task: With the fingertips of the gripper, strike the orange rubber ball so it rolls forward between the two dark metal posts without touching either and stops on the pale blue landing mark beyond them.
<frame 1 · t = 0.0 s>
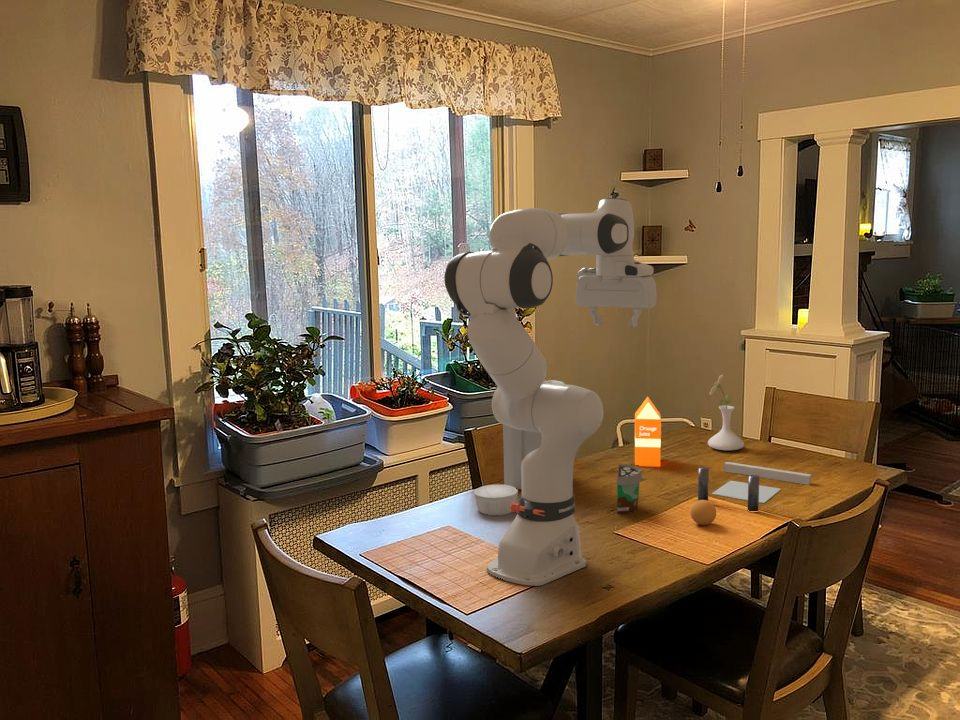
hand: (614, 325, 194), 48 cm above the table, tool pointing down, fingers open, 8 cm apart
ball: (703, 512, 195), on the table
left post: (703, 501, 212), on the table
ramekin: (496, 511, 209), on the table
flower in vase: (724, 449, 262), on the table
orange juice: (647, 462, 249), on the table
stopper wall: (766, 477, 231), on the table
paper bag: (545, 485, 230), on the table
right post: (752, 510, 204), on the table
landing mark: (746, 491, 219), on the table
food container: (630, 508, 208), on the table
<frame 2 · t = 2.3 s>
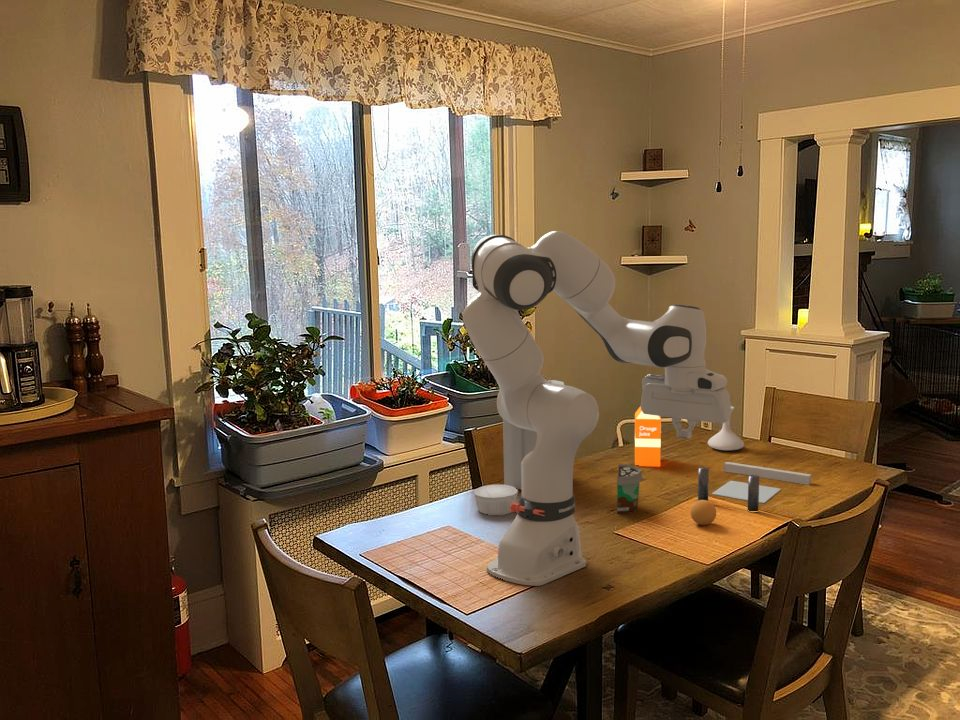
hand: (684, 437, 182), 24 cm above the table, tool pointing down, fingers closed
nothing on the table moved.
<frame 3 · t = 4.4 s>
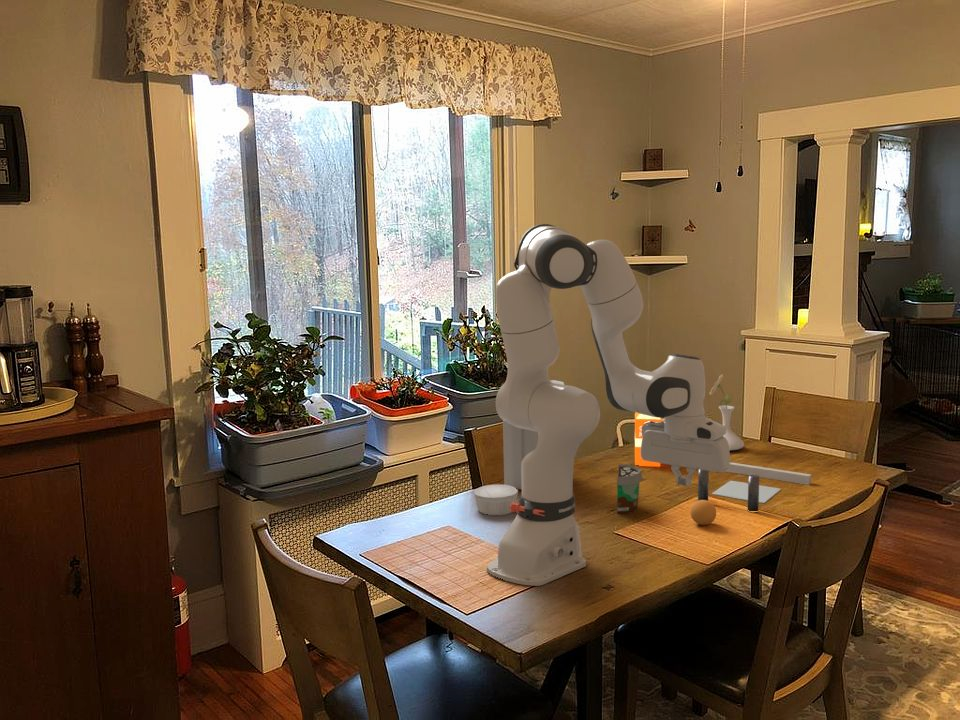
hand: (683, 484, 184), 13 cm above the table, tool pointing down, fingers closed
nothing on the table moved.
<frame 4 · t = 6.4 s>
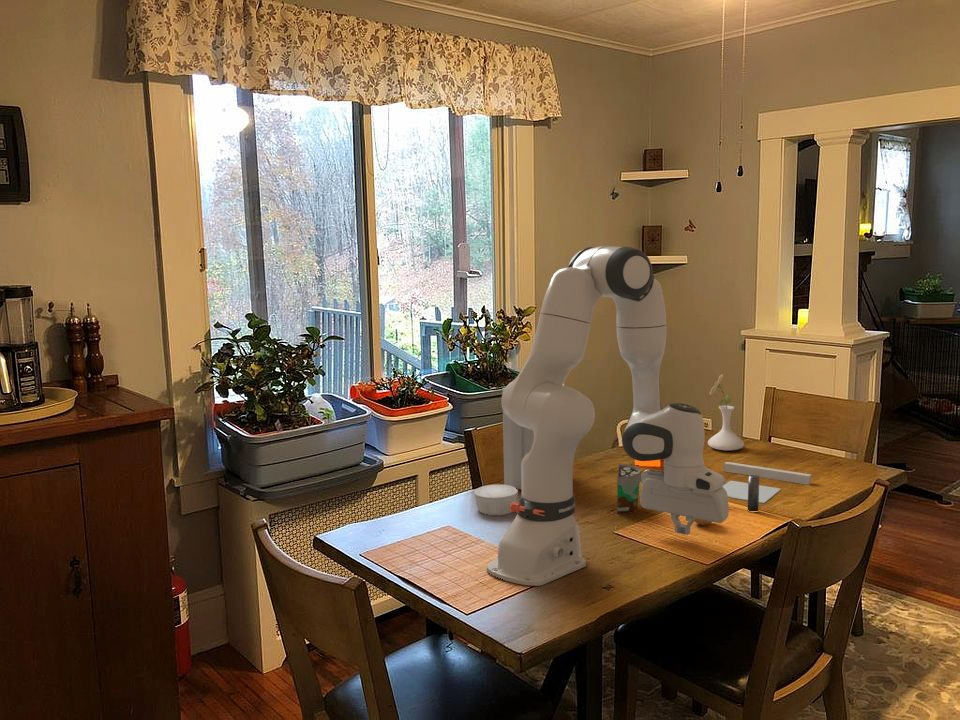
hand: (682, 533, 186), 2 cm above the table, tool pointing down, fingers closed
nothing on the table moved.
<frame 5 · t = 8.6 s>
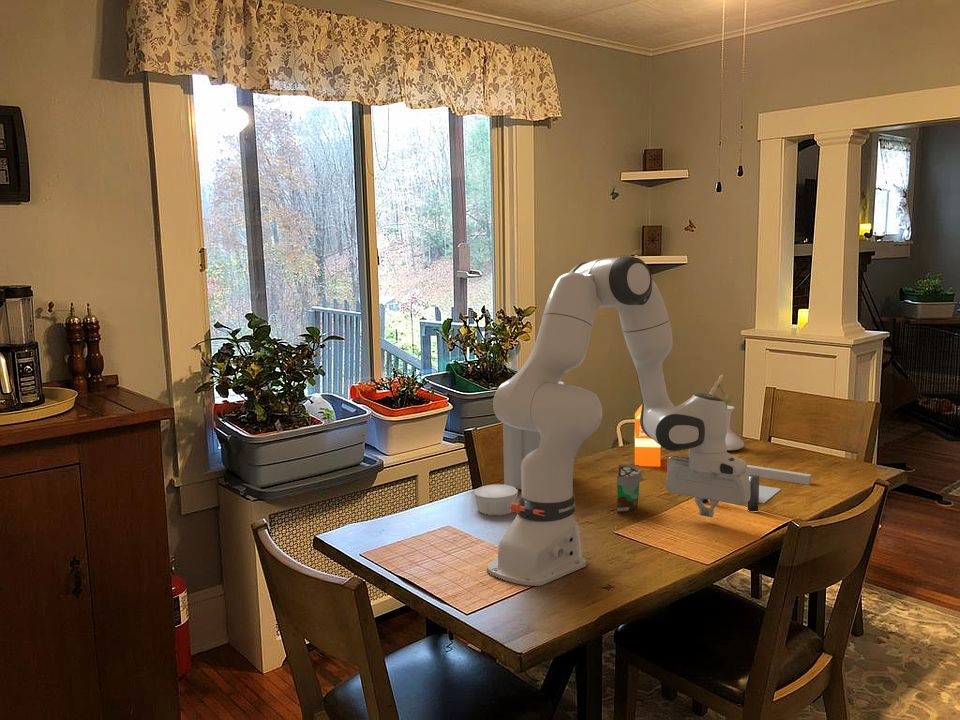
hand: (706, 515, 197), 2 cm above the table, tool pointing down, fingers closed
ball: (739, 486, 214), on the table
everything else where it was.
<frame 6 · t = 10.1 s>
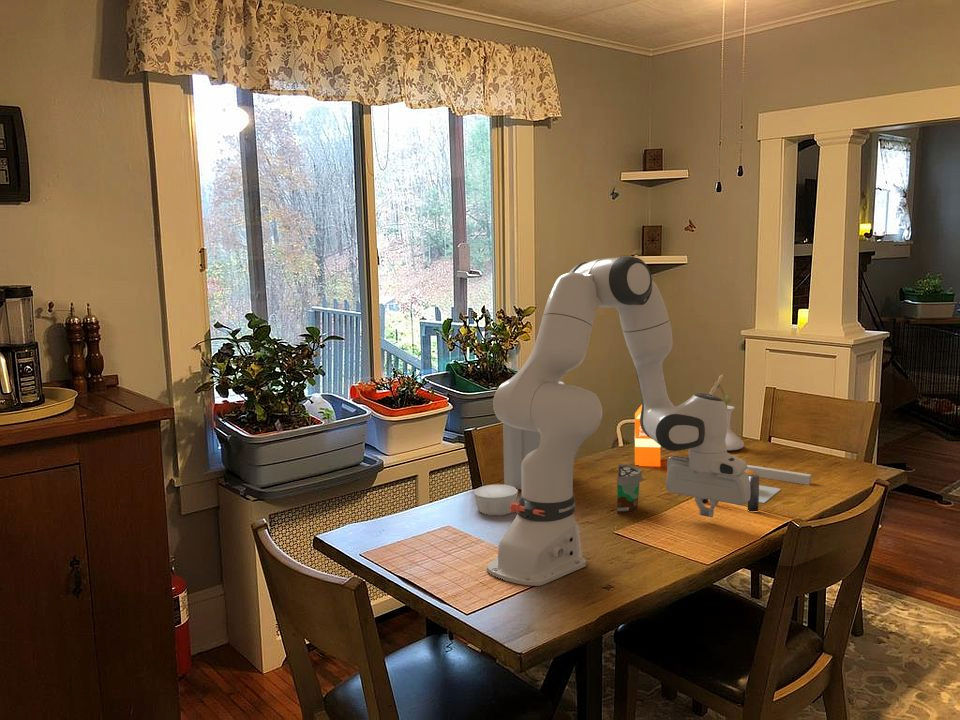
hand: (706, 515, 197), 2 cm above the table, tool pointing down, fingers closed
ball: (747, 480, 218), on the table
everything else where it was.
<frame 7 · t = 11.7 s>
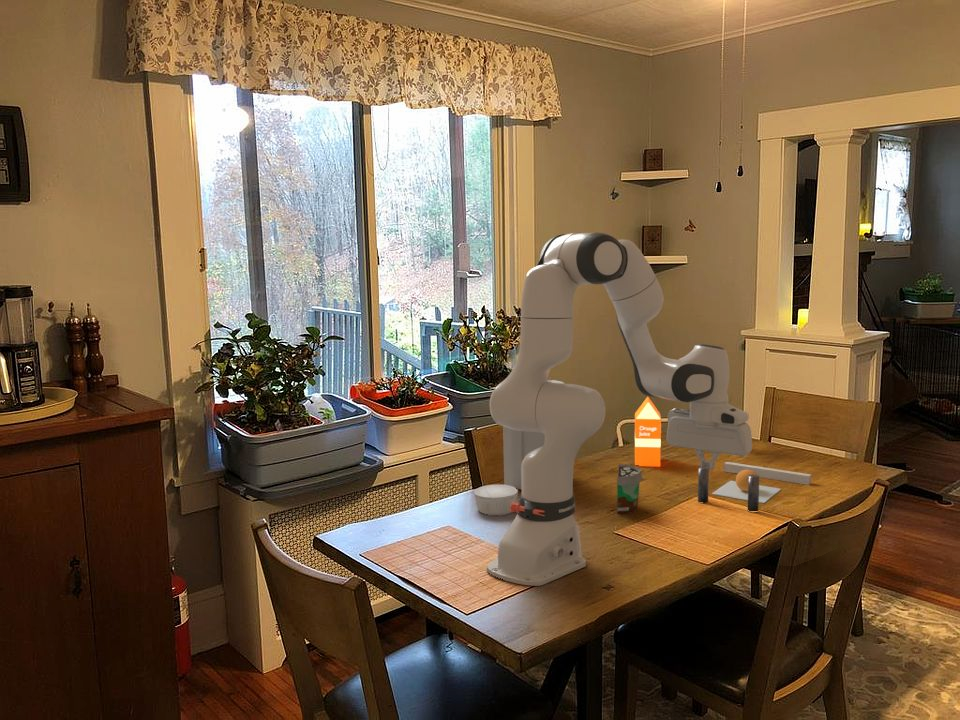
hand: (707, 468, 194), 14 cm above the table, tool pointing down, fingers closed
nothing on the table moved.
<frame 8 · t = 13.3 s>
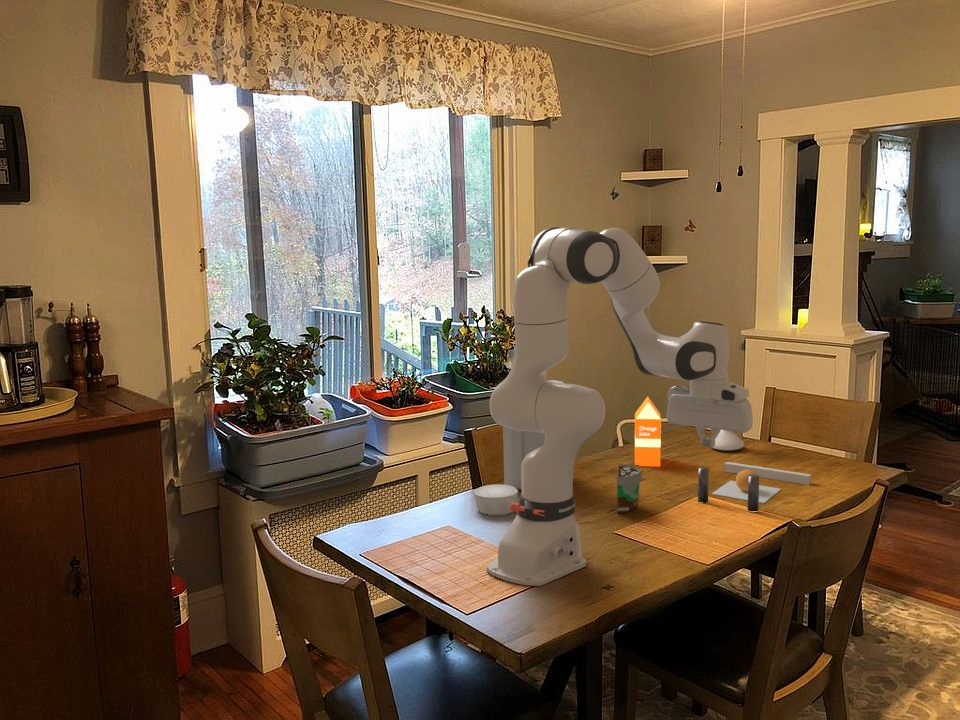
hand: (707, 445, 194), 19 cm above the table, tool pointing down, fingers closed
nothing on the table moved.
at the end: ball 0.4 cm from the landing mark (horizontally); ball never touched left post; ball never touched right post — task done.
